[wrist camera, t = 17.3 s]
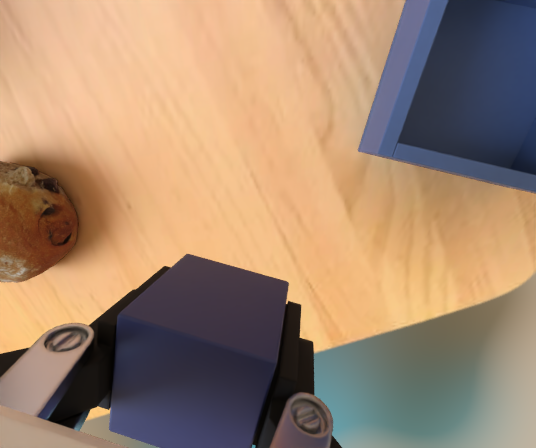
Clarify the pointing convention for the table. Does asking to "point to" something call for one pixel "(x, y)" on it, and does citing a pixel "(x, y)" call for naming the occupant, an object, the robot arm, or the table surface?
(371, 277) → the table surface
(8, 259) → the bread roll
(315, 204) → the table surface
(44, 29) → the table surface
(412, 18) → the blue bin
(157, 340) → the navy block
